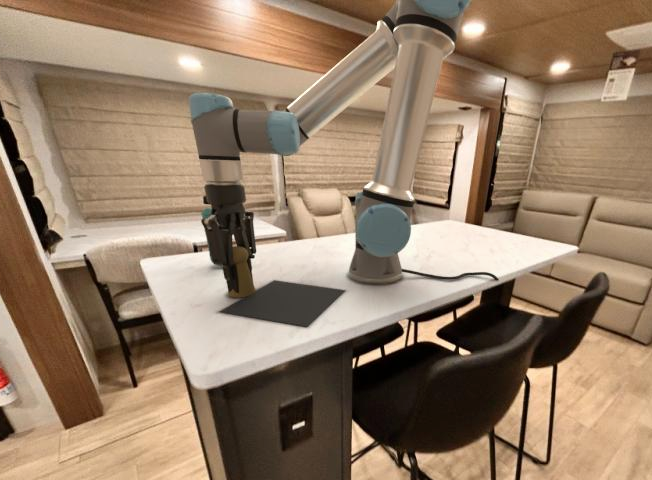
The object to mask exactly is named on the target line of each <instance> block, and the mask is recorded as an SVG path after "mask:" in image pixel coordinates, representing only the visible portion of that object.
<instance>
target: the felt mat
mask: <svg viewBox="0 0 652 480" xmlns="http://www.w3.org/2000/svg"><path fill="white" fill-rule="evenodd" d="M344 292H345V289H339V288H331V287H325V286H324V287H323V286H316V285H309V284H302V283H296V282H295V283H294V282H289V281H280V280H275V279H274V280H273V281H271V282H269V283H267V284H266V285H264V286H261V287H260V288H258V289H257V290H255V293H254V294H252V295H250V296H246V297H241V299H239V300H237V301H235V302H234V303H232V304H230V305H228V306H227V307H225V308H223V309H221V310H220V311H219V313H222V314H229V315H235V316H239V317H245V318H251V319H256V320H257V319H258V320H263V321H269V322H273V323H274V322H275V323H280V324H285V325H291V326H298V327H303V328H308V327H309V326H310V325H311V324H312V323H313V322H314V321H315V320H316V319H317V318H318V317H320V316H321V314H323V312H325V310H326V309H328V308H329V307H330V306H331V305H332V304H333V303H334V302H335V301H336V300H337V299H338V298H339V297H340V296H341V295H342V294H343V293H344Z"/></svg>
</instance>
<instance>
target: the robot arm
mask: <svg viewBox="0 0 652 480" xmlns="http://www.w3.org/2000/svg"><path fill="white" fill-rule="evenodd" d="M471 2H472V0H395V2H394V4H393V5H392V7H391V8H390V9H389V11H388V12H387V13H386V14H385V15H384V16H382V17H381V18H380V19H379V20H378V21H377V23H376V24H377V25H376V30H375V31H374V32H373V33H372V34H371V35H370V36H369V37H367V38H366V39H365V40H364V41H363V42H361V43H360V44H358V46H357V47H355V49H353V50H351V52H350V53H349V54H347V55H346V56H345V57H344V58H343V59H341V60H340V61H339V62H338V63H337V64H335V66H334V67H332V68H331V69H330V70H329V71H327V72H326V73H325V74H324V75H323V76H322V77H320V79H318V80H317V81H316V82H315V83H314V84H312V86H310V87H308V88H307V90H305V91H304V92H303V93H301V95H300V96H299V97H297V98H296V99H295V100H294V101H293V102H292V103H290V104H289V105H288V106H287V107H286V108H285V109H283V110H279V109H277V110H259V109H258V110H257V109H239V108H235V106H234V104H233V101H232V99H231V98H230V97H228V96H226V95H221V94H217V93H209V92H196V93H192V94H191V95H190V96H189V97H188V104H189V112H190V123H191V125H192V130H193V135H194V140H195V144H196V150H197V155H198V160H199V165H200V166H199V167H200V170H201V176H202V181H203V182H205V183H207V184H204V187H203V188H204V194H205V196H206V199H207V202H208V203H210V204H211V205H210V206H211V207H210V208H212V209H211V216H210V217H209V218H207V219H203V218H201V220H200V221H201V224H202V227H203V229H204V231H205V230H206V234H207V238H208V243H209V247H210V252H211V256H212V261H213V263H212V264H213V265H214V266H221V268H222V274H223V278H224V280H225V282H226V286H227V293H228V292H231V291H232V289H233V290H234V291H235V292H236V293H239V282H238V273H237V267H236V265H233V246H234V245H233V238H234V242H235V244H236V245H235V246H240V247H244V248H245V249H246V250H247V251H248V259H247V264H248V267H249V270H250V274H251V277H252V281H253V282H254V278H253V266H252V265H253V263H252V260H254V259H255V257H256V254H257V243H256V237H255V235H256V234H255V227H254V218H255V213H254V211H249V210H246V208H245V206H244V204H245V203H246V202H247V196H246V189H245V186H244V185H243V184H242V183H243V182H244V173H243V166H242V162H241V161H242V160H241V153H243V154H247V153H249V154H251V153H252V154H266V155H267V154H268V155H269V154H270V155H278V156H282V157H290V156H292V155H297V154H298V153H299V152H300V147H301V146H302V145H304V143H306V142H307V141H308V140H309V139H311V137H313V136H314V135H316V134H317V132H319V131H320V130H321V129H323V127H325V126H326V125H327V124H328V123H330V122H331V121H332V120H333V119H334V118H336V117H337V116H338V115H339V114H341V113H342V112H343V111H344V110H345V109H347V108H348V107H349V106H350V105H352V104H353V103H354V102H355V101H356V100H358V99H359V98H360V97H361V96H363V95H364V94H366V92H368V91H369V90H370V89H371V88H373V86H375V85H376V84H377V83H379V82H380V81H381V80H382V79H383V78H385V77H386V76H387V75H388V74H389V73H391V72H392V71H393V74H392V80H391V85H390V88H389V89H390V90H389V94H388V100H387V105H386V110H385V114H384V119H383V124H382V129H381V133H380V139H379V144H378V148H377V154H376V159H375V163H374V169H373V174H372V178H371V181H369V182H368V183H367V184H365V185H364V186H363V188H362V191H358V192H357V193H356V194H355V200H354V206H355V231H354V232H355V248H354V252H353V255H352V259H351V262H350V265H349V268H348V276H349V278H350V279H352V281H355V282H358V283H362V284H368V285H387V284H392V283H396V282H398V281H400V280H401V279H402V277H403V273H407V274H410V275H411V274H412V275H415V276H416V275H417V276H421V277H426V278H432V279H437V280H445V281H446V280H447V281H455V280H459V279H462V278H464V277H468V276H488V277H491V278H493V279H494V280H495V281H500V279H499V278H498V276H497V275H495V274H494V273H491V272H487V271H476V272H475V271H474V272H464V273H461V274H459V275H456V276H442V275H435V274H431V273H425V272H419V271H415V270H410V269H404V268H402V263H401V260H400V257H399V253H400V252H401V251H402V250H404V248H406V247H407V245H408V244H409V241H410V238H411V234H412V223H411V217H412V214H413V209H414V205H415V202H416V199H415V197H414V194H413V193H412V190H411V189H412V185H413V181H414V178H415V174H416V170H417V165H418V161H419V157H420V154H421V149H422V145H423V142H424V137H425V133H426V130H427V125H428V121H429V117H430V114H431V109H432V105H433V101H434V97H435V95H436V94H435V93H436V89H437V85H438V82H439V78H440V74H441V71H442V70H441V69H442V65H443V61H444V59H446V58H447V57H449V56H450V55H451V54H452V53H453V52H454V50H455V48H456V43H457V39H458V37H459V33H460V27H461V24H462V21H463V17H464V13H465V11H466V10H467V9H468V7H469V5H470V4H471ZM223 229H224V230H223ZM206 234H205V235H206ZM207 238H206V239H207ZM208 243H207V244H208ZM226 259H227V260H226ZM212 261H211V262H212Z"/></svg>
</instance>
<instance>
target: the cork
mask: <svg viewBox="0 0 652 480" xmlns="http://www.w3.org/2000/svg"><path fill="white" fill-rule="evenodd" d="M247 259H248V251H247V250H246V249H245V248H244V247H240V246H237V245H233V265H236V267H237V273H238V282H239V293H236V292H235V291H234V290H233V289H232V291H231V292H228V291H227V295H228V296H229V297H231V298H244V297H246V296H250V295H252V294H254V293H255V291H256V288H255V283H254V280H253V281H252V277H253V276H252V277H251V274H250V270H249V267H248V264H247ZM226 260H227V259H226Z"/></svg>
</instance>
